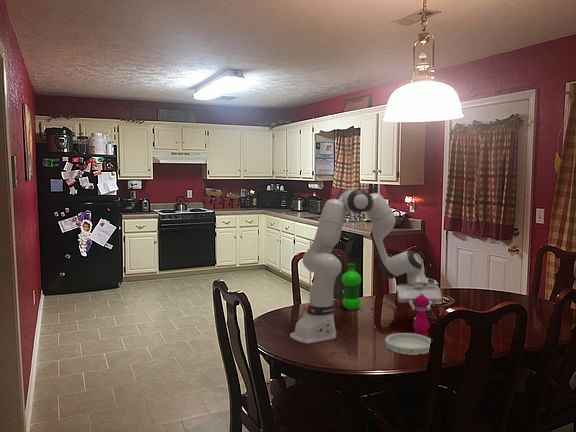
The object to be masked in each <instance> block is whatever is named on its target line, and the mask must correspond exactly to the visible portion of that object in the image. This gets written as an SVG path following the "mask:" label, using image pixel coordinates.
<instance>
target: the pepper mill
mask: <svg viewBox="0 0 576 432" xmlns="http://www.w3.org/2000/svg"><path fill="white" fill-rule="evenodd" d="M428 305H429V304H428V299H427V298H426V297H425V296H424V294H423V293H420V296H418V297H416V299H415V306H416V310H415V311H416V316H415V318H414V320H413V323H412V324H413V325H412V326H413V329H414V331H413V334H418V335H423V336H426V337H429V331H428V330H429V329H430V323H429V320H428V316H427V311H428V310H427V306H428Z"/></svg>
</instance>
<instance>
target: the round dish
mask: <svg viewBox="0 0 576 432" xmlns="http://www.w3.org/2000/svg"><path fill="white" fill-rule="evenodd" d="M431 340H432V339H431V338H430V337H429V336H427V337H426V336H423V335H418V334H414V333H412V332H396V333H391V334H389V335H387V336H386V337H385V339H384V345H385V348H387V349H388V350H389V351H391V352H394V353H397V354H401V355H406V356H407V354H408V356H418V355H419V354H422V355H427V354H429V353H430V352H429V349H430V343H431ZM428 352H429V353H428ZM426 353H427V354H426ZM419 356H420V355H419Z"/></svg>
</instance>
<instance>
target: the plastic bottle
mask: <svg viewBox="0 0 576 432" xmlns="http://www.w3.org/2000/svg"><path fill="white" fill-rule="evenodd" d="M347 268H348V270H347V271H346V272H344V273H343V274H342V276H341V283H342V284H344V285H343V286H344V287H343V288H344V289H343V298H342V305H343V307H345V309H347V310H348V311H349V310H350V311H355V310H356V309H357V308H359V307H360V305H361V299H360V297H359V296H360V295H359V294H360V293H359V292H360V291H359V290H360V288H359V287H360V284H361V282H362V277H361V275H360V274H359V272H357V271H356V270H355V269H356V264H355V263H348V264H347Z"/></svg>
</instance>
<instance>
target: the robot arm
mask: <svg viewBox="0 0 576 432" xmlns="http://www.w3.org/2000/svg"><path fill="white" fill-rule="evenodd" d="M349 213H351V214H362V213H365V214H366V215H367V216H368V219H369V220H370V223H371V226H372V229H371V231H370V237H371V242H372V244H373V247H374V250H375V253H376V256H377V259H378V262H379V265H380V270H381V272H382V275H383V276H384V277H386V278H388V279H393V280H394V279H395V278H397V277H399V276H402V275H405V274H406V275H407V277H406V279H407V280H406V281H407V283H398V284H396V286H395V290H396V292H397V301H398V303H408V305H409V306H410V307H411V308H412V309H411V310H412V311H417V310H416V306H417V305H416V304H415V305H414V303H415V299H416V297H418V296H420V293H423V294H424V296H425V297H426V298H427V299H428V305H427V310H426V311H431V305H432V304H433V303H435V304H436V303H441V302H442V299H443V296H442V295H443V294H442V291H441V289H440V287H439V286H438V282H437V280H435V279H434V278H433V279H432V278H428V277H426V274H425V266H424V262H423V259H422V257H421V255H420V254H419V253H417V252H414V251H413V250H406V251H403V252H400V253H399V254H395V255H392V256H388V253H387V250H386V247H385V245H384V239H385V237H386V236H387V235H388V234H389V233H391V232H392V230H393V229H394V227H395V226H396V221H397V220H396V217H395V215H394V212H393V210H392V207H390V205H389V203H388V202H387V200H386V199H385V198H384V197H383V195H381V193H378V192H374V193H370V194H369V193H368V192H367V191H364V190H362V189H354V188H352V189H347V190H345V191H343V192H342V193H340V195H338V197H337V198H331V199H328V200H327V201H326V202H325V204H324V206H323V208H322V211H321V214H320V217H319V222H318V225H317V229H316V233H315V236H314V239H313V240H312V242H311V244H310V245H309V246H310V247H309V248H308V250H307V251H305V252H304V254H303V256H302V264H303V266H304V267H305V268H306V269H307V270H308V271H309V272H311V273H313V276H314V277H313V281H312V284H311V285H310V286H309V303H308V305H307V306H306V305H303V306H302V310H303V311H306V313H305V314H304V315H303V316H301V318H299V320H298V321H297V322H296V323H295V326H294V327H295V329H294V332H290V333H289V337H290V338H291V339H292V338H293V339H292V340H294V341H297V342H299V343H303V344H309V345H310V344H312V343H313V344H314V343H319V342H326V341H330V340H335V339H336V338H337V334H338V333H337V330H336V324H335V318H334V317H335V316H334V315H335V314H334V312H335V304H334V288H335V287H334V286H335V283H336V280H337V277H338V276H339V274H341V271H342V268H343V266H342V262H341V260H340V259H339V258H338V257H337V256H336V255H334V254H333V253H332V251H333V249H334V247H335V246H336V245H337V244H339V241H340V238H341V234H342V229H343V226H344V221H345V218H346V216H347V215H348V214H349Z"/></svg>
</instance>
